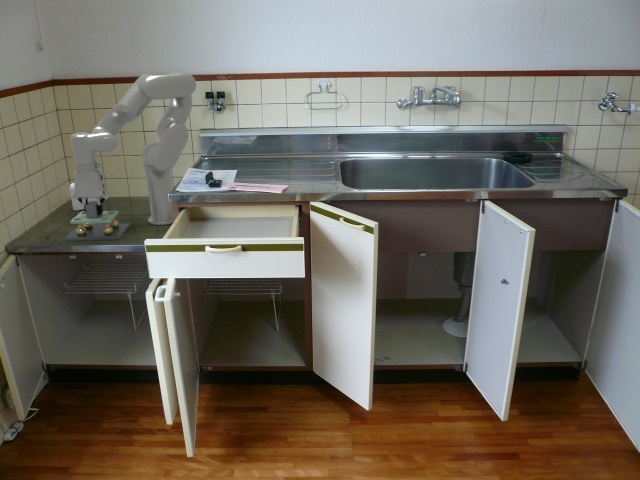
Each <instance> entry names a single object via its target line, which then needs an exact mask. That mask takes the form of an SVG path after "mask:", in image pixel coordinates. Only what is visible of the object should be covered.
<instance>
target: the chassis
mask: <svg viewBox="0 0 640 480" xmlns="http://www.w3.org/2000/svg"><path fill="white" fill-rule="evenodd" d="M130 227H131V223H130V222H129V223H125V222H124V223H119V221H118V220H116V219H115V218H114V219H113V220H112V221H111V222H110V223H83V224H78V225H77V226H76V227H74V229H73V230H71V231H70V232H69V233H68V234H67V235H66V236H65V237H64V240H65V242H71V241H73V242H75V241H99V240H100V241H106V240H108V241H109V240H110V241H111V240H121V239H122V237H123V236H124V235H125V234H126V232H127V231H128V230H129V228H130Z"/></svg>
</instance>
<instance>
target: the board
mask: <svg viewBox="0 0 640 480" xmlns="http://www.w3.org/2000/svg"><path fill="white" fill-rule="evenodd" d="M96 206H97V201H90V202H89V203H88V204H87V205H86V206H85V209H86V213H85V209H84V211H80V212H79V213H78V214H77V215H76V216H74V217H73V218H72V219H71V220H70V222H69V223H70V224H71V225H73V224H78V225H79V224H81V225H83V223H92V224H107V223H108V224H110V222H111V221H112V220H113V219H114V218H115V217H117V216H118V214H119V210H103V213H102V214H101V215H100V216H98V213H97V207H96ZM86 214H87V215H86Z"/></svg>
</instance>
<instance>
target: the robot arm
mask: <svg viewBox="0 0 640 480" xmlns="http://www.w3.org/2000/svg"><path fill="white" fill-rule="evenodd" d="M196 89H197V82H196V79H195V78H194V76H193V75H192V74H190V73H188V72H184V71H179V70H173V71H171V72H169V73H168V74H160V75H158V74H150V73H144V74H142V75H140V76H139V77H138V78H137V79H136V80H135V81H134V83H133V84H132V86H130V88H129V89H128V90H127V91H126V93H125V94H124V95H123V96H122V97H121V99H120V100H119V101H118V103H116V104H115V105H114V106H113V107H112V108H111V109H110V110H109V111H108V112H107V113H106V114H105V115H104V116H103V117H102V118H101V119H100V121H99V122H98V123H97V124H96V125H95V127H94V128H93V129H92V131H91V133H90V132H86V131H85V132H84V131H83V132H82V131H81V132H74V133H72V134H71V135H70V139H69V140H70V144H71V151H72V156H73V157H72V158H73V161H74V167H75V170H74V171H73V172H74V173H73V174H74V175H73V183H74V185H75V193H74V195H73V198H74V199H76V200H78V201H79V202H81V203H82V205H83V206H84V209H83V210H84V211H85V213H86V209H85V206H86V205H87V204H88V198H96V201H97V206H96V207H97V213H98V216H100V215H101V214H102V213H103V211H104V208H103V203H104V202H105V201H106V200H108V199H109V198H111V194H110V193H109V191H107V186H106V182H105V178H104V175H103V172H102V169H100V168H102V164H101V163H99V162H98V160H97V159H98V158H97V154H96V153H111V152H113V151H115V150H116V149H117V147H118V145H119V144H118V143H119V141H118V138H117V136H116V135H117V134H118V133H119V131H120V130H121V129H122V128H123V127H125V126H126V125H128V124H129V123H132V122H135V121H136V120H138V119H139V118H140V117H141V116H142V114H143V113H144V112H145V110H147V108H148V106H149V105H150V104H151V103H152V101H153V100H169V101H168V105H167V108H166V109H165V111H164V113H163V115H162V117H161V119H160V121H159V123H158V125H157V126H156V135H157V137H158V139H159V140H158V142H156V141H153V142H148V143H147V144H145V145H144V147H143V149H142V151H141V160H142V165H143V168H144V173H145V178H146V179H145V180H146V185H147V193H148V200H149V207H150V216H148V218H147V220H148V221H147V222H148V223H149V224H151V225H155V226H156V225H157V226H160V225H161V226H164V225H165V226H166V225H171V224H174V223H175V222H174V215H173V209H172V204H171V203H169V201H168V194H169V193H170V191H171V190H172V189H173V180H172V174H171V170H172V169H173V168H174V167H175V166H176V164H177V162H178V160H179V158H180V156H181V155H182V153H183V151H184V149H185V148H186V145H187V143H188V140H189V135H190V134H189V130H188V127H187V125H186V123H187V121H188V118H189V117H190V115H191V112H192V108H193V96H192V95H193V94H194V93H195V91H196ZM173 190H174V189H173ZM86 215H87V214H86ZM173 222H174V223H173Z"/></svg>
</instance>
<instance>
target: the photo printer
mask: <svg viewBox="0 0 640 480" xmlns="http://www.w3.org/2000/svg"><path fill="white" fill-rule="evenodd" d="M69 193H70V198H71V199H70V200H71V205H72V209H73V211H74V212H76V211H83V210H85V209H84V206H83V205H82V203H81V202H79V201H78V200H76V199H74V198H73V195H74V193H75V185H74V182H72V183H70V184H69ZM90 201H96V198H88V203H89V202H90Z"/></svg>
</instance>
